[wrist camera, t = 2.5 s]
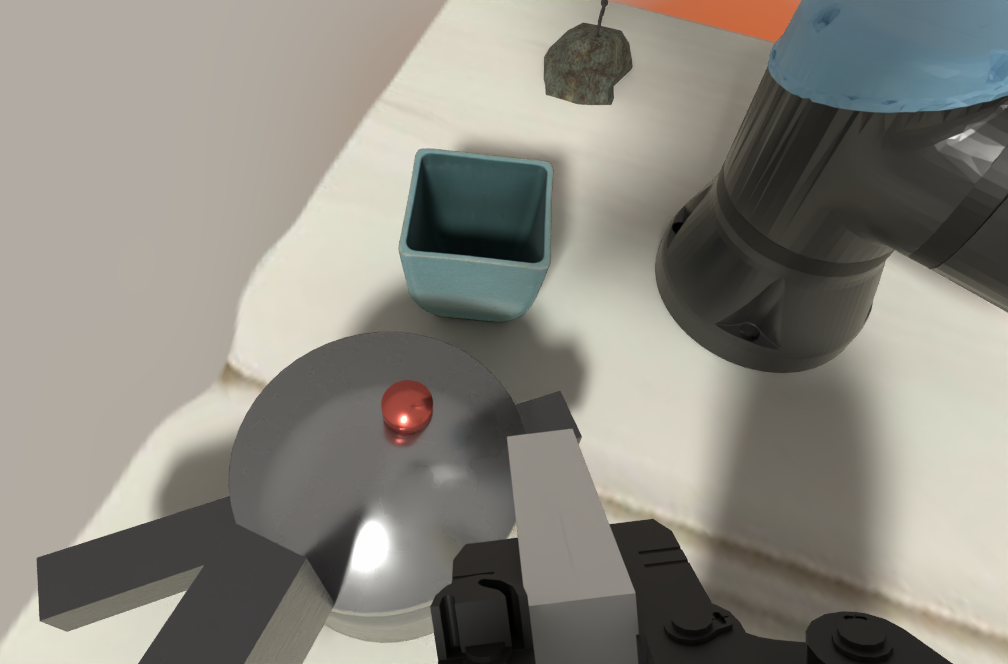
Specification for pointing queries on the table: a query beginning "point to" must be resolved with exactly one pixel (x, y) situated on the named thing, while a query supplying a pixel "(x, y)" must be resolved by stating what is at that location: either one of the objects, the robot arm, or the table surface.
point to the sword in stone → (587, 63)
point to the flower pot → (476, 234)
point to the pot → (204, 560)
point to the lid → (349, 497)
